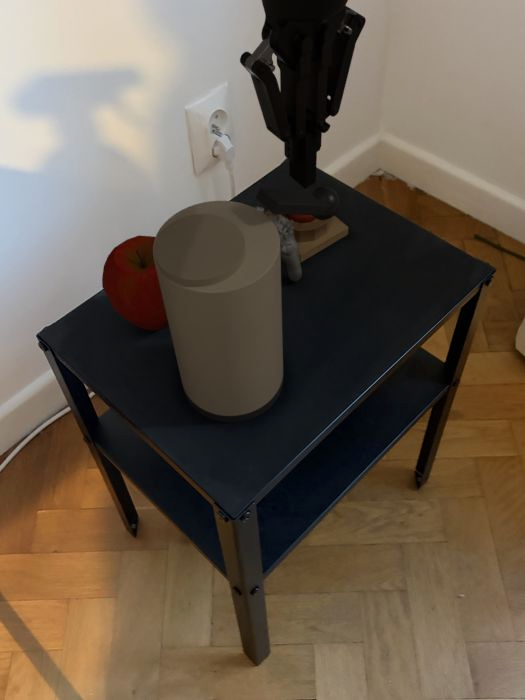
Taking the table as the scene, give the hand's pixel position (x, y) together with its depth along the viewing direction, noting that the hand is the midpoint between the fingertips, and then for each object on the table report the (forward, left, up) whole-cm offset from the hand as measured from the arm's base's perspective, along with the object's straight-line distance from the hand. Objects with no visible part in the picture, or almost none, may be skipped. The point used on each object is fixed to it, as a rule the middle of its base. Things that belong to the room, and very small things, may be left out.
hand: (302, 178), depth 78 cm
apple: (-1, +21, -8) cm, 22 cm away
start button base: (0, 0, -7) cm, 7 cm away
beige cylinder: (-12, +19, -7) cm, 23 cm away
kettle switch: (-12, +11, +10) cm, 19 cm away
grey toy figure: (-3, +10, -8) cm, 12 cm away
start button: (0, 0, -5) cm, 5 cm away
